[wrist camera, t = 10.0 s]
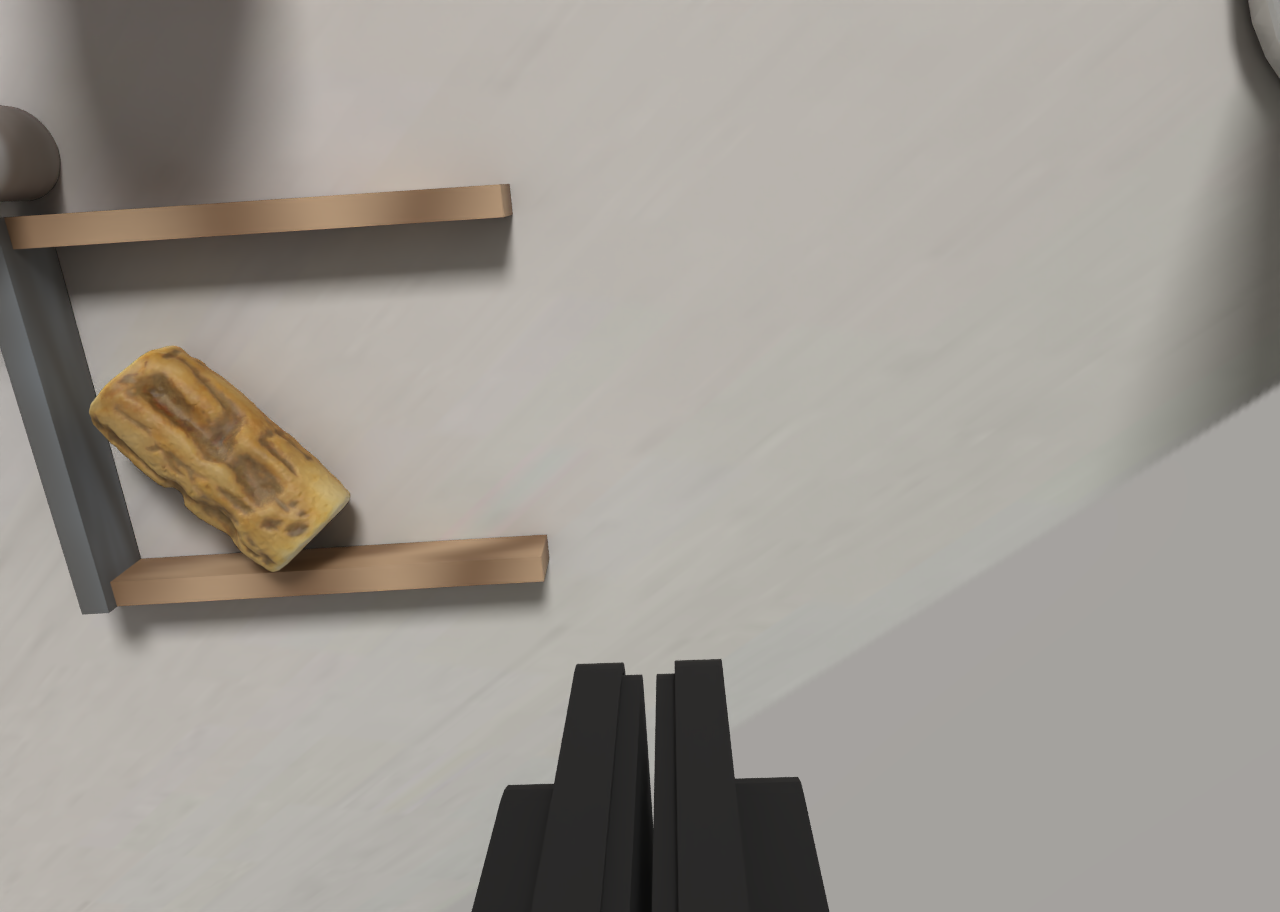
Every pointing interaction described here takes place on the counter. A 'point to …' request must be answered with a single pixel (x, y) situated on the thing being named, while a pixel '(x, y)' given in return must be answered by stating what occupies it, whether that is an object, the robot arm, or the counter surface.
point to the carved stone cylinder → (218, 454)
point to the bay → (80, 454)
